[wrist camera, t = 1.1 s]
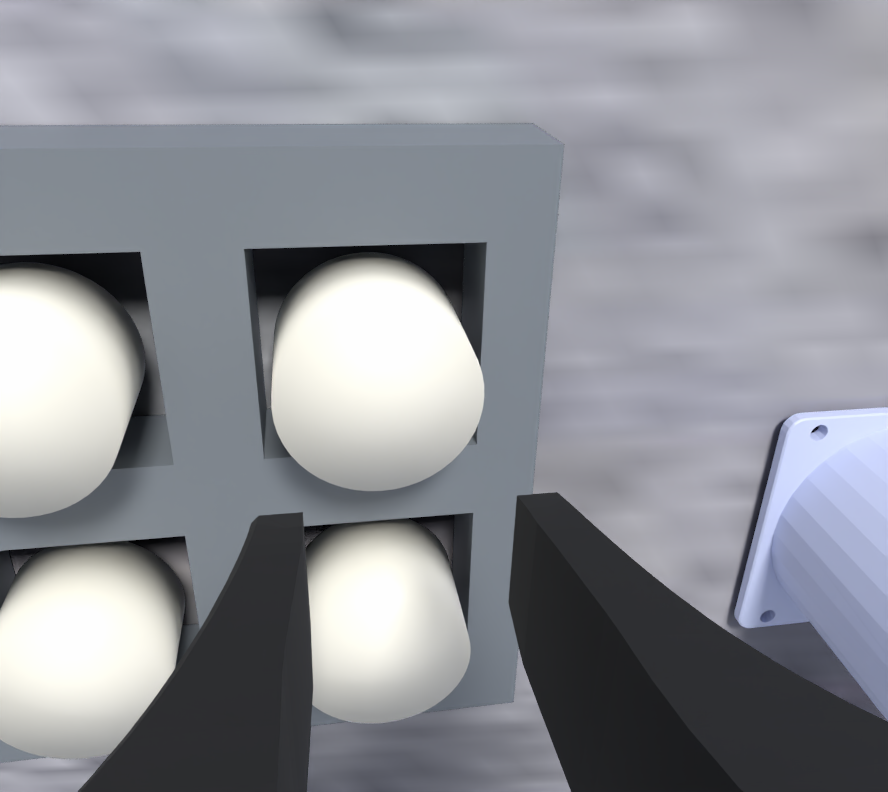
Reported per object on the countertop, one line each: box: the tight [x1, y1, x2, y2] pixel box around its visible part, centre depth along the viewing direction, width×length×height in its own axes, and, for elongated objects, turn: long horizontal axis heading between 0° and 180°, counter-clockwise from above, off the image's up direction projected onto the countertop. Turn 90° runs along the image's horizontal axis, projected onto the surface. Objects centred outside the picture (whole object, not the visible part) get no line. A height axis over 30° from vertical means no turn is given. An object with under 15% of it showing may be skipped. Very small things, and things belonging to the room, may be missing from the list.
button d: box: [0, 541, 185, 759], centre depth 19 cm, size 4×4×3 cm
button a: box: [271, 252, 484, 491], centre depth 17 cm, size 4×4×3 cm
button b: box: [0, 262, 145, 518], centre depth 16 cm, size 4×4×3 cm
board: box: [0, 123, 564, 763], centre depth 20 cm, size 15×16×2 cm
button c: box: [305, 518, 471, 724], centre depth 21 cm, size 4×4×3 cm
